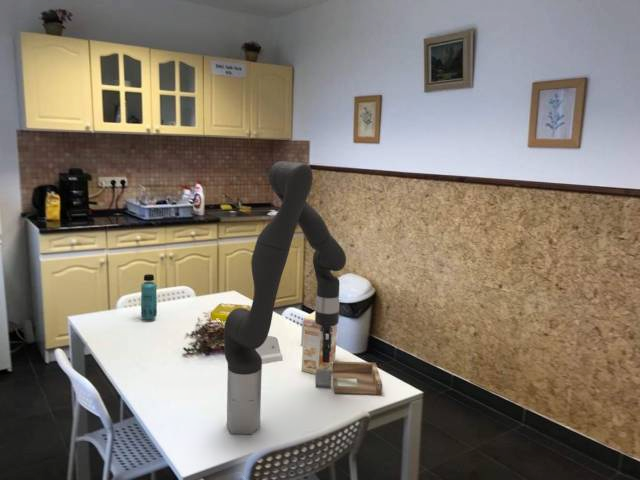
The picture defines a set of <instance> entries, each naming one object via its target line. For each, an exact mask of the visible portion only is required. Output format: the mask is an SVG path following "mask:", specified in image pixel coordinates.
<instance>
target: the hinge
mask: <svg viewBox="0 0 640 480" xmlns="http://www.w3.org/2000/svg"><path fill="white" fill-rule="evenodd" d="M255 350H256V351H257V352H258V354H259V355H260V356H261V358H262V365H263V364H269V363H276V362H281V361H283V355H282V353H281V347H280V344H279V340H278V338H277V337H276V336H273V335H268V336H267V338H266V340H265V342H264V343H263V344H262V345H261V346H260V347H259V348H257V349H255Z"/></svg>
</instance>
